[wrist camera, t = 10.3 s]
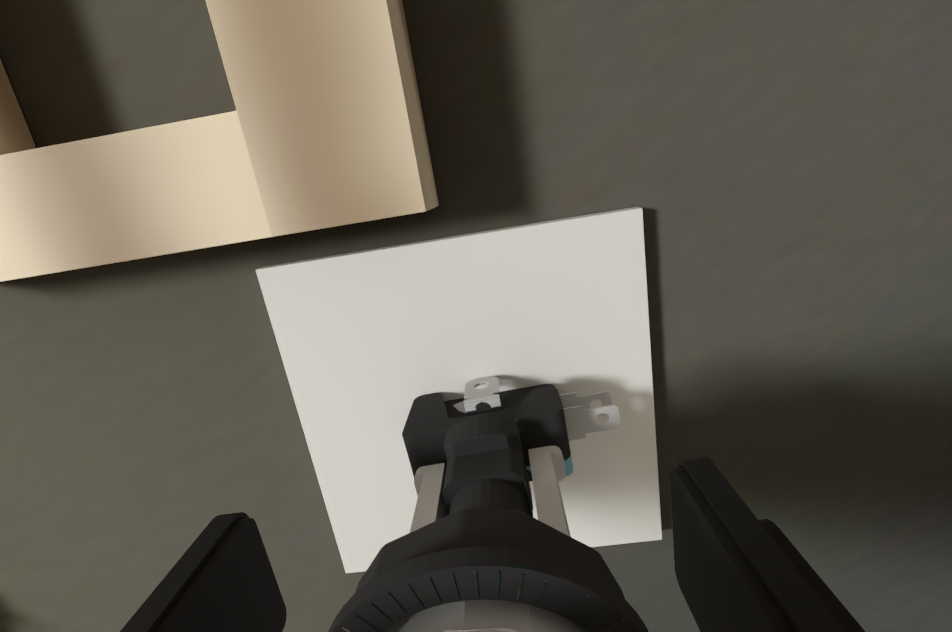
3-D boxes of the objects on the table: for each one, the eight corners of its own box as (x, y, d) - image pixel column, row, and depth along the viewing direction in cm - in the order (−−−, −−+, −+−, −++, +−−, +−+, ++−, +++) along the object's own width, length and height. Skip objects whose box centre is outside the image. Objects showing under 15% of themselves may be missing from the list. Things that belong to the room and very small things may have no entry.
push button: (597, 321, 14) (806, 592, 5) (616, 464, 16) (809, 893, 6) (394, 358, 15) (225, 666, 5) (431, 493, 16) (349, 926, 7)
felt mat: (636, 206, 14) (642, 207, 13) (656, 527, 17) (662, 539, 17) (264, 266, 15) (255, 269, 14) (350, 561, 18) (345, 573, 18)
